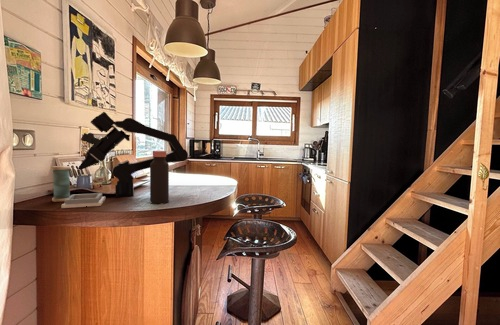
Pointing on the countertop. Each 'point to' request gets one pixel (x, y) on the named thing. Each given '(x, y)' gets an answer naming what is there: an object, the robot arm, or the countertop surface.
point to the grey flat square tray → (84, 200)
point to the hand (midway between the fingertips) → (79, 168)
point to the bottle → (159, 178)
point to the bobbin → (61, 183)
